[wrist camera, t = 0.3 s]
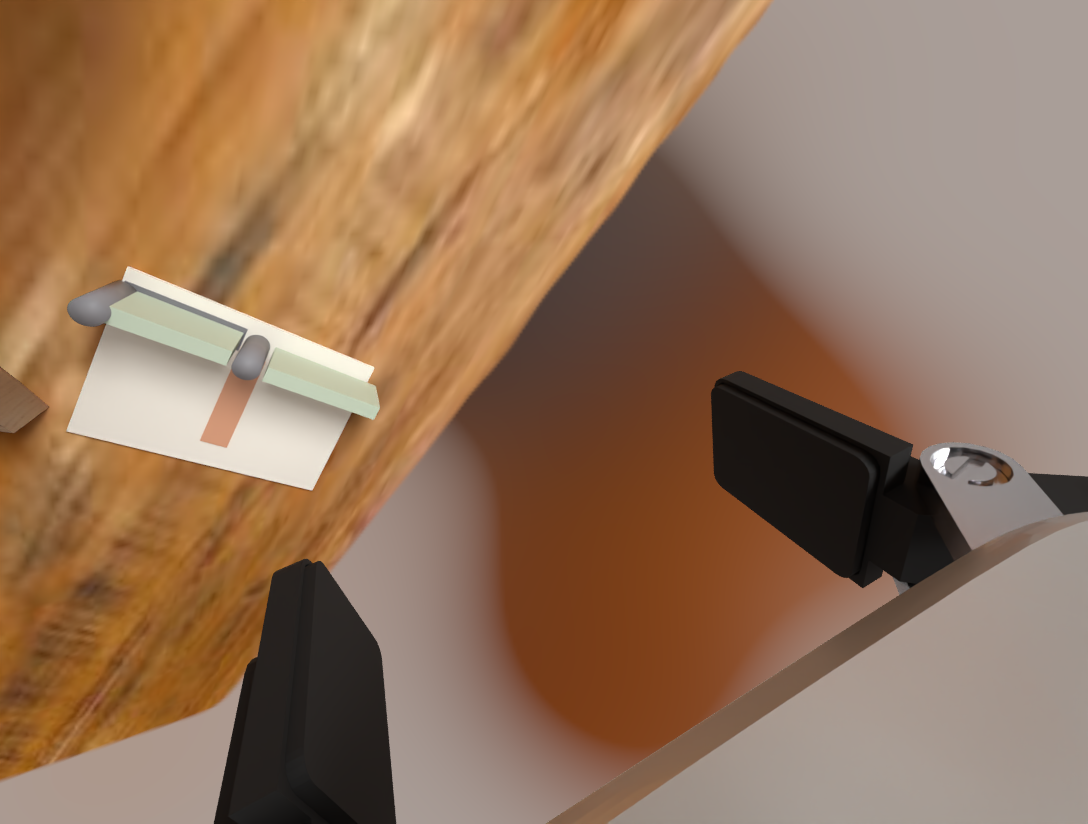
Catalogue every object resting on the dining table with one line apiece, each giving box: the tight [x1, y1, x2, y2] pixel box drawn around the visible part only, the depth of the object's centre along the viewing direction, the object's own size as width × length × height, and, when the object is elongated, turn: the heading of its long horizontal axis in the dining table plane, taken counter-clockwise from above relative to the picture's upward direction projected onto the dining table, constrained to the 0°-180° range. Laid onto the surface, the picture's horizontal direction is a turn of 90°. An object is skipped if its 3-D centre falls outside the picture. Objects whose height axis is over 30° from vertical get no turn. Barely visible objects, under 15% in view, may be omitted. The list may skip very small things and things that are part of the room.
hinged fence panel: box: [262, 347, 380, 420], centre depth 37 cm, size 8×1×5 cm, turn 57°
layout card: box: [67, 266, 374, 491], centre depth 38 cm, size 18×14×1 cm
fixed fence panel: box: [67, 280, 270, 380], centre depth 32 cm, size 10×2×6 cm, turn 57°
